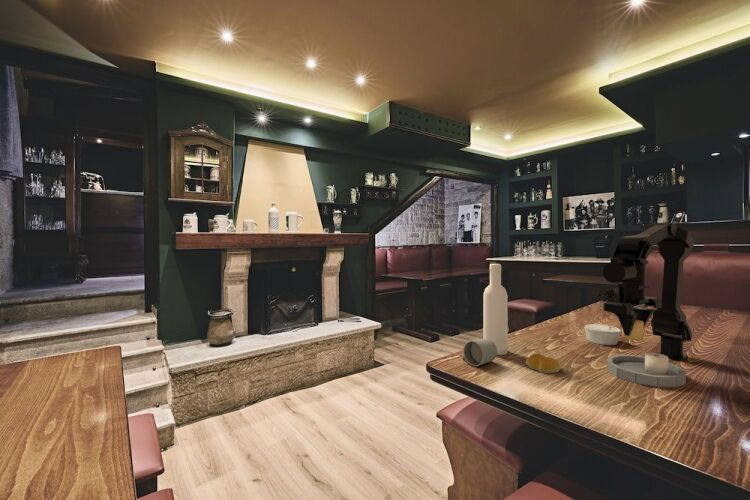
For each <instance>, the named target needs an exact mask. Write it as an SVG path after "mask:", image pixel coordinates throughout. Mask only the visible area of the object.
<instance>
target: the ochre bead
mask: <svg viewBox="0 0 750 500" xmlns="http://www.w3.org/2000/svg"><path fill="white" fill-rule="evenodd" d="M644 327H645V326H644V322H643V321H641V320H637V319H636V321H635V323H634V326H633V329H632V331H631V333H630V335H629V336H627V335H625V334H624V331H623V329H622V328H621V337H622V338H624V339H626V340H630V341H643V340H644Z"/></svg>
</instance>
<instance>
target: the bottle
mask: <svg viewBox="0 0 750 500" xmlns="http://www.w3.org/2000/svg"><path fill="white" fill-rule="evenodd" d="M502 269H503V267H502V265H501V264H500V263H490V264H489V284H488V285H487V287H485V289H484V291H483V310H482V311H483V313H482V314H483V321H482V322H483V325H482V326H483V327H482V328H483V334H482V335H483V339H489V340H491V341H492V342H494V344H495V345H496V348H497V356H503V355H506V354H508V350H509V343H508V341H509V340H508V335H509V334H508V325H509V324H508V322H509V321H508V316H509V315H508V311H509V310H508V307H509V305H508V298H509V297H508V293H507V290H506V288H505V287H504V286H503V285H502Z"/></svg>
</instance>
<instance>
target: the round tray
mask: <svg viewBox="0 0 750 500" xmlns="http://www.w3.org/2000/svg"><path fill="white" fill-rule="evenodd" d="M606 360H607V361H606V362H607V364H606V366H607V367H606V370H607V372H608V373H610V374H612V375H613V376H615V377H616V378H618V379H623V380H625V381H628V382H631V383H634V384H640V385H645V386H649V387H653V388H654V387H656V388H679V387H682V386H684V385H686V384H687V374H686V371H685V370H684V368H683V367H680V366H678V365H676V364H674V363H671V362H670V361H668V376H664V375H651V374H647V373H645V356H643V355H636V354H615V355H611V356H608V357H607V359H606Z"/></svg>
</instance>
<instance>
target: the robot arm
mask: <svg viewBox="0 0 750 500" xmlns="http://www.w3.org/2000/svg"><path fill="white" fill-rule="evenodd" d="M655 245H656V246H657V248H658V249H657V250H658V254H659V255H660V256H661V258H662V259H663V270H662V271H663V272H662V283H661V284H662V285H661V299H660V298H659V297H653V296H647V295H646V291H647V289H649V288H650V284H648V283H646V281H647V280H646V279H647V276H646V275H647V271H646V270H647V265H648V264H649V261H648V260H647V259H648V257H649V255H651V253H652V252H653V247H654V246H655ZM694 245H695V238H694V237H693V236H692V235H691V233H690V232H689V231H688V230H687V229H683V228H681V227H678V225H677V224H676V223H672V222H661V223H659V222H658V223H654V224H653V225H652V226H651V227H649V228H647V229H646V230H644V231H642V232H640V233H638V234H636V235H635V234H634V235H626V236H621V237H619V239H618V240H617V242H616V244H615V246H614V249H613V250H612V254H610V255H611V256H610V258H609V259H610V262H608V263H607V264H605V266H604V267H603V269H602V276H603V277H604V279H605V280H606V281H607V282H609V283H612V284H616V288H611V289H609V288H608V287H600V288H598V289H597V290H598V291H597V298H599V299H600V300H601V301H602V303H603V304H602V311H604V312H609V313H611V314H614V315H615V316H616V317H617V318H618V320H619V323H620V326H621V330H622V329H623V331H624V334H625V335H627V336H629V335H630V333H631V331H632V329H633V326H634V323H635V321H636V319H637V320H641V321H643V322H644V327H645V326H646V325H647V323H648V322H649V320H650V318H651V321H650V325H651V326H650V327H651V330H652V335H653V336H658V337H659V339H660V340H659V341H660V343H659V344H660V345H659V351H657V352H656V353H658V354H663V355H666V356H667V357H668V359H672V360H675V361H681V360H684V359H689V355H688V354H687V355H686V354H684V343H685V342H692V339H693V331H692V329H691V328H690V326H689V324H688V322H687V315H686V314H685V312H684V311H683V309H682V306H681V304H682V302H681V301H682V288H683V274H684V262H685V261H686V260H687V259H688V257H689V256H691V254H692V249H693V247H695V246H694ZM651 307H652V309H651ZM653 308H654V309H653Z"/></svg>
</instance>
